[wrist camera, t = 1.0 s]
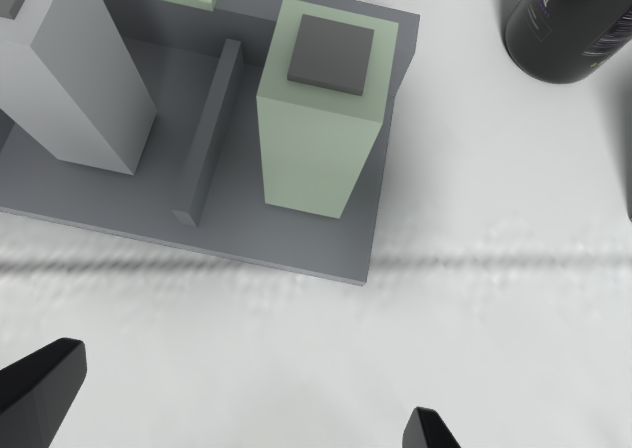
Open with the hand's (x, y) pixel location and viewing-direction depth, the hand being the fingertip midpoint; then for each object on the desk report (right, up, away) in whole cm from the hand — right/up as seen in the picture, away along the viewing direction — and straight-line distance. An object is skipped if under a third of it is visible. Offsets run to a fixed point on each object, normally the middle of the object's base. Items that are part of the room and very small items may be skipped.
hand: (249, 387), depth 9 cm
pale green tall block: (+1, +6, +14) cm, 15 cm away
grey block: (-10, +8, +14) cm, 19 cm away
